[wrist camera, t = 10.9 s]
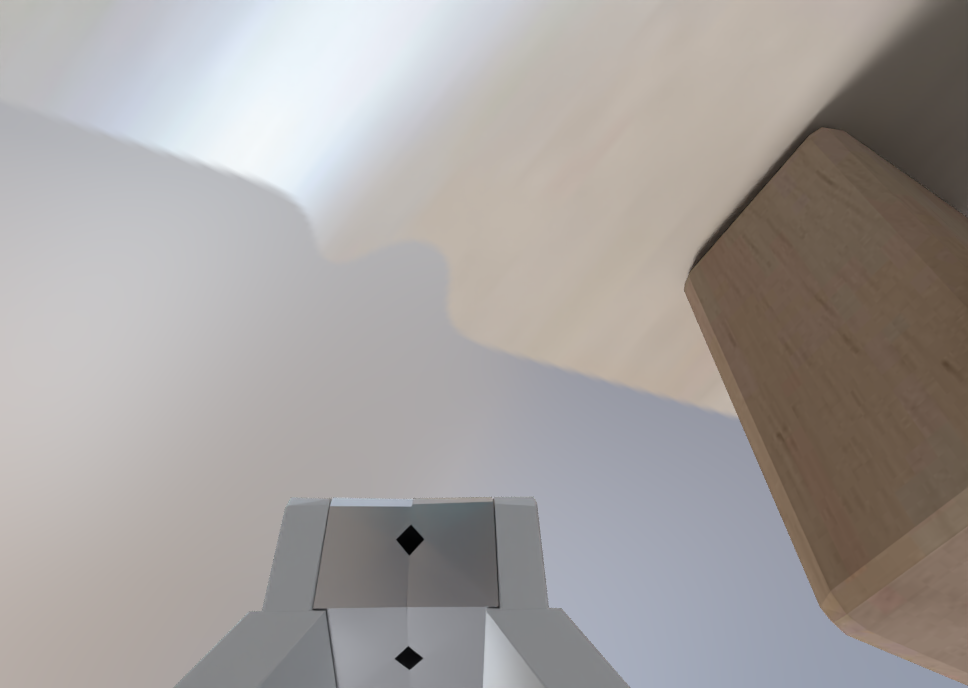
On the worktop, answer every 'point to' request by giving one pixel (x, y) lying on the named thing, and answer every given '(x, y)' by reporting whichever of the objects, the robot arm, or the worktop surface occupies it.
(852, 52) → the worktop surface
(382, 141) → the worktop surface
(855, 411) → the block
